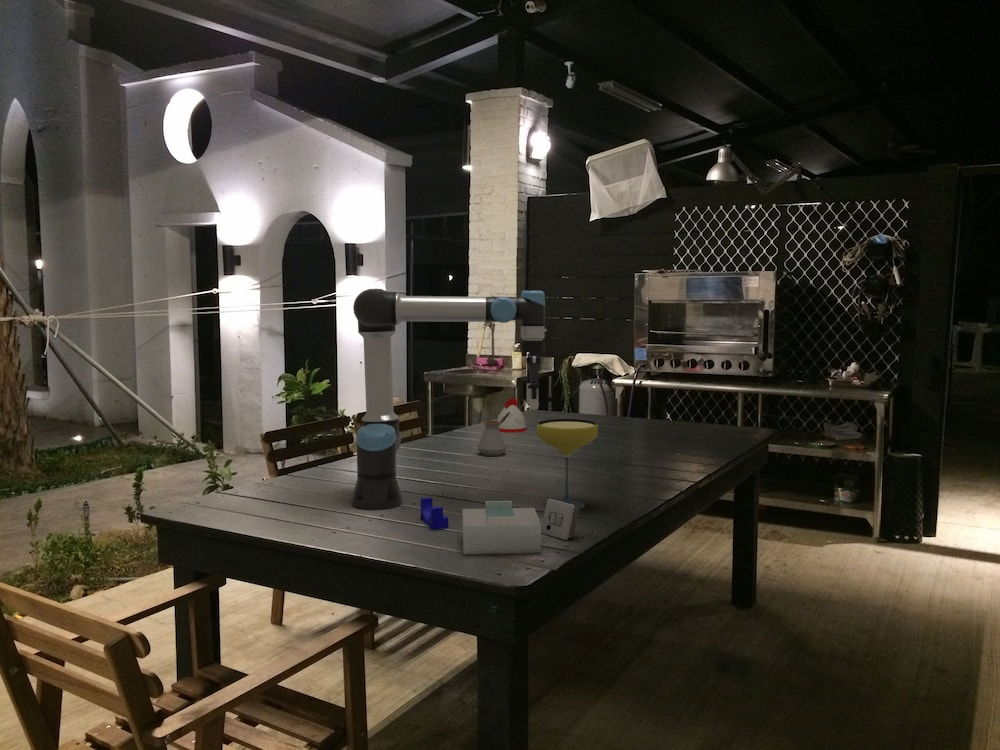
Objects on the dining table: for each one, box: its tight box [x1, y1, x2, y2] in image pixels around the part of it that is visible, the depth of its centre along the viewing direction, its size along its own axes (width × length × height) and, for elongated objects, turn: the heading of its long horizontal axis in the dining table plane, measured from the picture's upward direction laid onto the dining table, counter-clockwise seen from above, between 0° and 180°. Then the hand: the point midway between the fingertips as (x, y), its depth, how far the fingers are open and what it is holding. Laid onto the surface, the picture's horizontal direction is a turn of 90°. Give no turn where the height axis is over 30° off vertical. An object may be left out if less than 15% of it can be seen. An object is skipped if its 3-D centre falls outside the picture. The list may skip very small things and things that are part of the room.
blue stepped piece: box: [419, 496, 449, 531], centre depth 225 cm, size 12×4×6 cm, turn 21°
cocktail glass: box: [536, 418, 599, 510], centre depth 242 cm, size 18×18×25 cm
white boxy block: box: [462, 500, 542, 555], centre depth 206 cm, size 19×16×9 cm
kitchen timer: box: [496, 397, 527, 434], centre depth 376 cm, size 14×14×15 cm
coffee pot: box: [477, 412, 512, 457], centre depth 324 cm, size 21×12×15 cm, turn 152°
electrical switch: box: [541, 498, 580, 541], centre depth 214 cm, size 9×5×9 cm, turn 42°
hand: (532, 406), depth 258 cm, fingers open, 13 cm apart
